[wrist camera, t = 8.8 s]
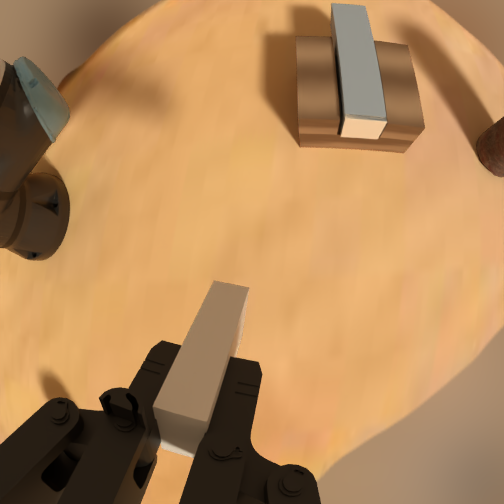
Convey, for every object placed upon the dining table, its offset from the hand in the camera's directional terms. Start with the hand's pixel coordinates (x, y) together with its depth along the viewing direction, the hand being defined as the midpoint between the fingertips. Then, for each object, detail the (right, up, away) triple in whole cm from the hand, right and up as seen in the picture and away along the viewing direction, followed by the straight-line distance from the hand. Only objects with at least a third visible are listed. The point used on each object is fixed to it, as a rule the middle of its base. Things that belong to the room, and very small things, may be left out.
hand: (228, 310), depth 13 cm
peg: (+14, +25, +19) cm, 34 cm away
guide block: (+14, +22, +24) cm, 35 cm away
